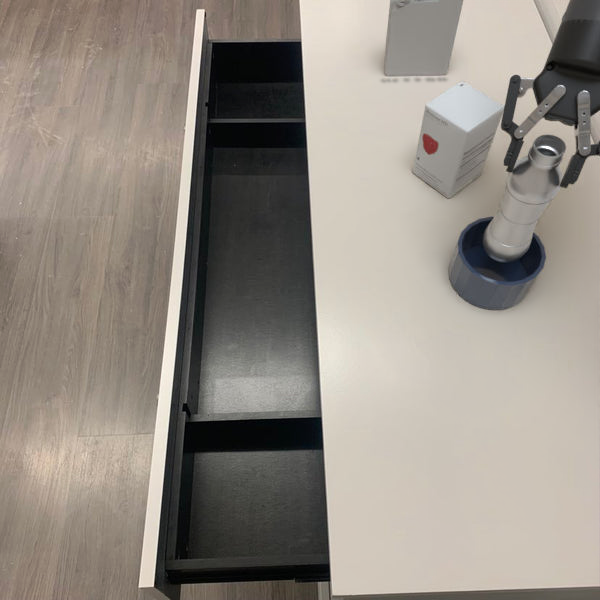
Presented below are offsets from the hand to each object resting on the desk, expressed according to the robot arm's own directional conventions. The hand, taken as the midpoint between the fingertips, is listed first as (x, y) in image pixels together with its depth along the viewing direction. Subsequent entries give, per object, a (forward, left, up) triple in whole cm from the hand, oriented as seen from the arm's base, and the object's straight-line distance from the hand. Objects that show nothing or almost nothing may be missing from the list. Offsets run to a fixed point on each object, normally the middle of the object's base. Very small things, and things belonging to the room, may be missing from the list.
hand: (536, 179), depth 63 cm
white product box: (+22, -9, -23) cm, 33 cm away
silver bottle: (+1, -2, -16) cm, 17 cm away
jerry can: (+50, -21, -23) cm, 59 cm away
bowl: (+1, -1, -23) cm, 23 cm away
